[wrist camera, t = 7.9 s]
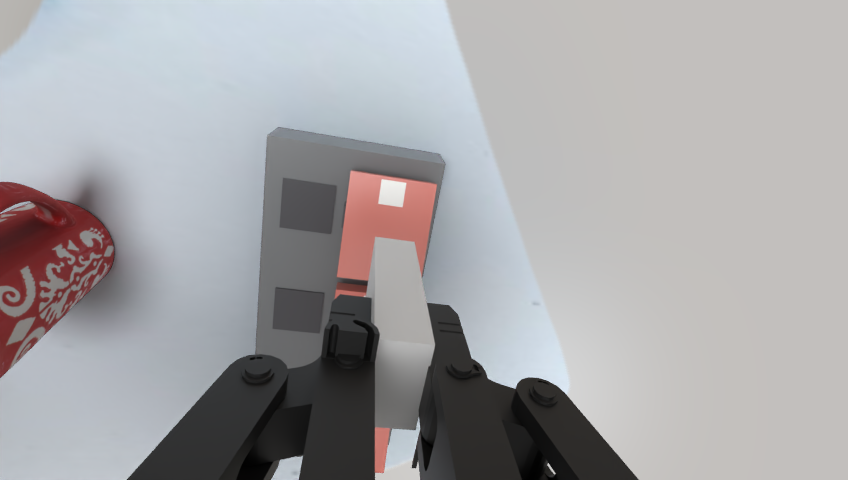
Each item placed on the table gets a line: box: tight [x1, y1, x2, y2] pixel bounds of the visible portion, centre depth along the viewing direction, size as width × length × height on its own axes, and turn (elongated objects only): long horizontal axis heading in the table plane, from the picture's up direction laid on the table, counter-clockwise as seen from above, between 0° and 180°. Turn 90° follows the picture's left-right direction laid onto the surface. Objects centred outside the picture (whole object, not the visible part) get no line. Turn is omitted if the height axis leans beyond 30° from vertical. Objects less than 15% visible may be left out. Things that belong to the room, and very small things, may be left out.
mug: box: [0, 182, 114, 378], centre depth 28 cm, size 13×9×14 cm
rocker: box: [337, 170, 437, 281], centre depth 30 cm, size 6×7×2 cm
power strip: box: [255, 127, 445, 457], centre depth 37 cm, size 12×30×5 cm, turn 170°
